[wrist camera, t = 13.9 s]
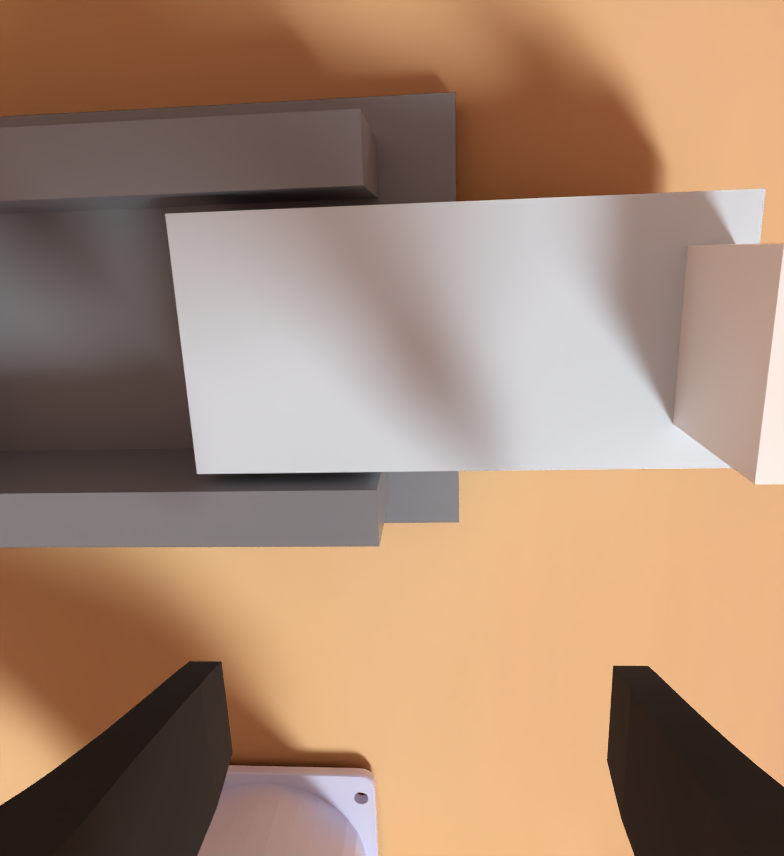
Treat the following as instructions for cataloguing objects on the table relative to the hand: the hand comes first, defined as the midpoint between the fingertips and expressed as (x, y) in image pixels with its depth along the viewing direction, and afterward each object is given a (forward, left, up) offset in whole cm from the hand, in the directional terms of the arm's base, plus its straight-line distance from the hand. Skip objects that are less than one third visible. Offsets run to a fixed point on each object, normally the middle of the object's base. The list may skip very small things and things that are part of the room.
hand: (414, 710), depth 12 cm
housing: (+6, +10, -9) cm, 15 cm away
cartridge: (+6, -1, -8) cm, 10 cm away
